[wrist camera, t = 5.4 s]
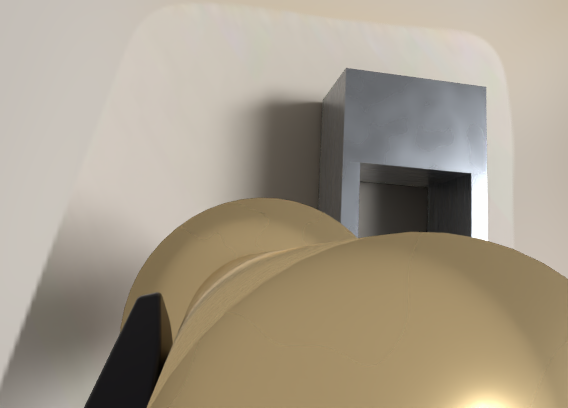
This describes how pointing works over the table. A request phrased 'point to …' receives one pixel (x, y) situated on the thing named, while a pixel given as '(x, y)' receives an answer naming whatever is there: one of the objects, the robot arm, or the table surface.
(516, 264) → the brass pin
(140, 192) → the table surface
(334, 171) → the steel hitch block
